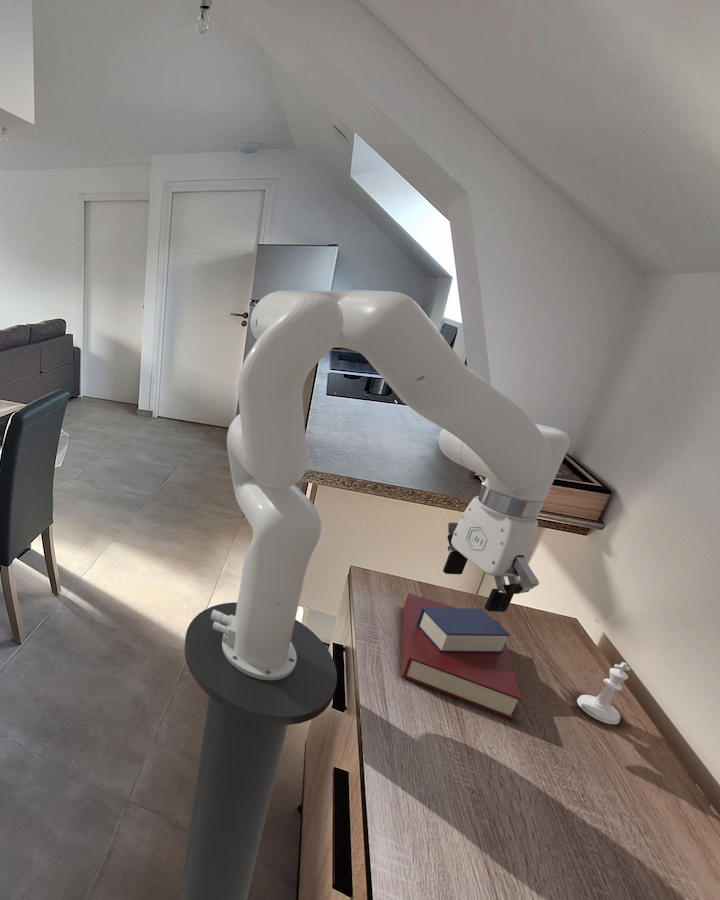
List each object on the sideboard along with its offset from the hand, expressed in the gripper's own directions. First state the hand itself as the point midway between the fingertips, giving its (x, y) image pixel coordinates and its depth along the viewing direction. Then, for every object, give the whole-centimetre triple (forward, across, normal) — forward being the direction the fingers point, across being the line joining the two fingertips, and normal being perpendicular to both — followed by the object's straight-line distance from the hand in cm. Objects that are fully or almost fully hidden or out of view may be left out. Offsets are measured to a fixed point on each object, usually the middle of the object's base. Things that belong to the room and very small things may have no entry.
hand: (472, 590), depth 77 cm
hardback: (+15, 0, +1) cm, 15 cm away
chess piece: (+15, +11, +18) cm, 25 cm away
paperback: (+10, 0, +1) cm, 10 cm away
